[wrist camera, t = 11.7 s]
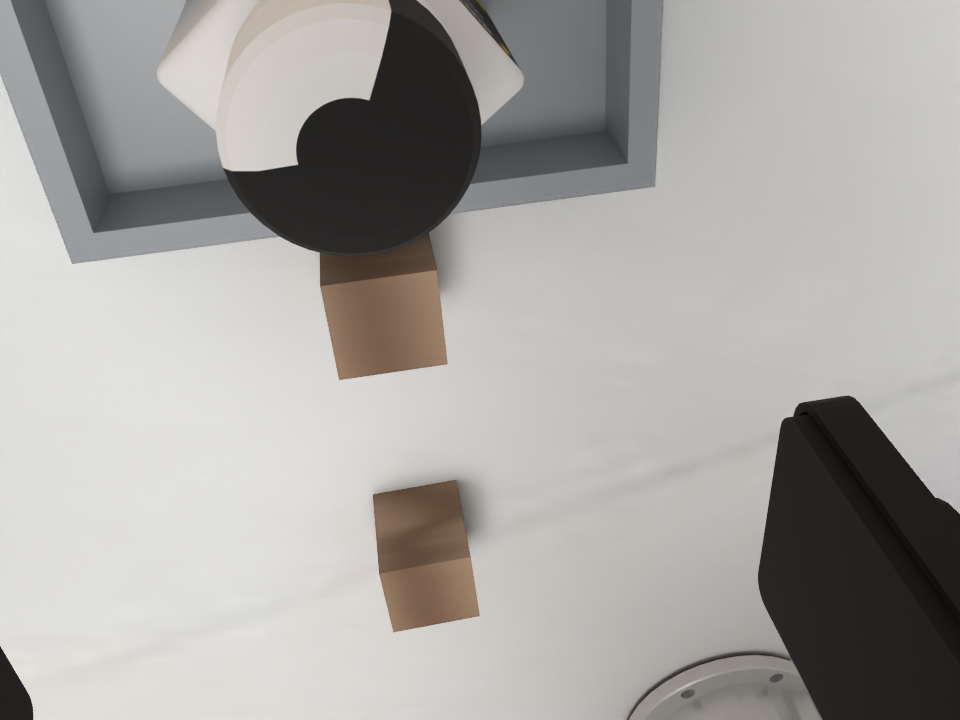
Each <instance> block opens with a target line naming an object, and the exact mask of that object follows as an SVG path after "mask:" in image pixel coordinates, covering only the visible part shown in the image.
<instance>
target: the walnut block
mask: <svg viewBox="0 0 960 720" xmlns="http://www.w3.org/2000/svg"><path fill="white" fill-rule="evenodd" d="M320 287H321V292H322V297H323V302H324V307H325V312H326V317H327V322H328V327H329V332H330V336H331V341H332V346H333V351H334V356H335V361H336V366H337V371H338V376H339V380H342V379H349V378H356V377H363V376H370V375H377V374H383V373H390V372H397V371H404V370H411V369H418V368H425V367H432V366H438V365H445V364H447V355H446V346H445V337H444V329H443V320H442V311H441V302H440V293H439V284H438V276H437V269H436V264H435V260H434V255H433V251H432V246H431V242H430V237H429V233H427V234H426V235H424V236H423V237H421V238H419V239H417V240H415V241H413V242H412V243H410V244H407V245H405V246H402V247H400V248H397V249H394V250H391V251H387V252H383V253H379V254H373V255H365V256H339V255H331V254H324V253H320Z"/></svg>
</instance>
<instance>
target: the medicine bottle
mask: <svg viewBox="0 0 960 720" xmlns="http://www.w3.org/2000/svg"><path fill="white" fill-rule="evenodd" d="M156 72H157V79H158V80H159V82H160V83H161V85H162V86H163V87H164V88H166V89H167V90H168V91H169V92H170V93H171V94H173V95H174V96H175V97H176V98H177V99H178V100H180V101H181V102H182V103H183V104H184V105H185V106H187V107H188V108H189V109H190V110H191V111H192V112H194V113H195V114H196V115H197V116H198V117H200V118H201V119H202V120H203V121H204V122H205V123H207V124H208V125H209V126H210V127H211V128H212V129H214V130H215V131H216V138H217V146H218V152H219V156H220V159H221V163H222V167H223V169H224V172H225V174H226V176H227V178H228V181H229V183H230V185H231V187H232V188H233V190H234V191H235V193H236V195H237V196H238V198H239V200H240V201H241V202H242V203H243V204H244V206H245V207H246V208H247V209H248V210H249V212H250V213H251V214H252V215H253V216H254V217H255V218H257V219H258V220H259V221H260V222H261V223H262V224H263V225H264V226H266V227H267V228H268V229H270V230H271V231H273V232H274V233H275V234H277V235H278V236H280V237H282V238H284V239H286V240H288V241H289V242H291V243H293V244H296V245H298V246H301V247H304V248H306V249H309V250H312V251H316V252H320V253H324V254H331V255H339V256H365V255H373V254H379V253H383V252H387V251H391V250H394V249H397V248H400V247H402V246H405V245H407V244H410V243H412V242H413V241H415V240H417V239H419V238H421V237H423V236H424V235H426V234H427V233H428V232H430V231H431V230H433V229H434V228H435V227H437V226H438V225H439V224H440V223H441V222H442V221H443V220H444V219H445V218H446V217H447V216H448V215H450V213H451V212H452V211H453V210H454V208H455V207H456V206H457V205H458V203H459V202H460V201H461V199H462V197H463V196H464V194H465V192H466V191H467V189H468V187H469V185H470V183H471V180H472V178H473V176H474V173H475V171H476V167H477V163H478V160H479V156H480V148H481V140H482V132H481V125H482V124H483V123H484V122H486V121H487V120H488V119H489V118H490V117H491V116H492V115H493V114H494V113H495V112H497V111H498V110H499V109H500V108H501V107H502V106H503V105H504V104H505V103H506V102H507V101H509V100H510V99H511V98H512V97H513V96H514V95H515V94H516V93H517V92H518V91H520V89H521V88H522V86H523V83H524V76H523V73H522V71H521V69H520V68H519V66H518V64H517V63H516V61H515V59H514V57H513V56H512V54H511V52H510V51H509V49H508V47H507V46H506V44H505V42H504V40H503V39H502V37H501V35H500V34H499V32H498V30H497V28H496V27H495V25H494V23H493V22H492V20H491V18H490V16H489V15H488V13H487V11H486V10H485V9H484V7H483V6H482V5H481V4H480V3H479V2H478V0H188V1H187V2H186V4H185V6H184V9H183V11H182V13H181V15H180V18H179V20H178V22H177V25H176V27H175V29H174V32H173V34H172V36H171V38H170V41H169V43H168V45H167V48H166V50H165V52H164V55H163V57H162V59H161V62H160V64H159V66H158V68H157V71H156Z"/></svg>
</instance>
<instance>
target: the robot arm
mask: <svg viewBox="0 0 960 720" xmlns="http://www.w3.org/2000/svg"><path fill="white" fill-rule="evenodd" d="M758 583H759V589H760V594H761V597H762V600H763V603H764V605H765V607H766V609H767V611H768V613H769V615H770V617H771V619H772V621H773V623H774V625H775V627H776V629H777V631H778V633H779V635H780V637H781V639H782V641H783V643H784V645H785V647H786V649H787V651H788V653H789V655H790V657H791V659H792V661H793V662H791V661H789V660H785V659H781V658H777V657H773V656H762V655H746V656H734V657H729V658H723V659H718V660H715V661H711V662H708V663H704V664H701V665H698V666H696V667H693V668H691V669H689V670H686V671H684V672H682V673H680V674H678V675H676V676H674V677H673V678H671V679H669V680H667V681H666V682H664V683H663V684H661V685H660V686H659V687H657V688H656V689H655V690H653V691H652V692H651V693H650V694H649V695H648V696H647V697H646V698H645V699H644V700H643V701H642V702H641V703H640V704H639V705H638V706H637V708H636V709H635V711H634V712H633V713H632V715H631V716H630V719H629V720H960V514H959V513H958V512H957V511H956V510H955V509H954V508H953V507H952V506H951V505H950V504H949V503H947V502H945V501H943V500H941V499H939V498H935V497H934V496H933V495H932V493H931V492H930V491H929V490H928V488H927V487H926V486H925V485H924V483H923V482H922V481H921V480H920V478H919V477H918V476H917V474H916V473H915V472H914V471H913V469H912V468H911V467H910V466H909V464H908V463H907V462H906V461H905V459H904V458H903V457H902V456H901V454H900V453H899V452H898V451H897V449H896V448H895V447H894V446H893V444H892V443H891V442H890V441H889V439H888V438H887V437H886V436H885V434H884V433H883V432H882V431H881V429H880V428H879V427H878V426H877V424H876V423H875V422H874V421H873V419H872V418H871V417H870V415H869V414H868V413H867V412H866V410H865V409H864V408H863V407H862V405H861V404H860V403H859V402H858V401H857V400H856V399H855V398H853V397H851V396H842V397H835V398H829V399H822V400H816V401H809V402H803V403H800V404H799V405H798V406H797V407H796V409H795V413H794V416H793V417H788V418H785V419H784V420H783V421H782V424H781V428H780V434H779V441H778V447H777V454H776V461H775V467H774V474H773V480H772V487H771V493H770V500H769V506H768V513H767V519H766V526H765V533H764V539H763V546H762V552H761V559H760V565H759V572H758ZM0 720H33V707H32V702H31V699H30V696H29V694H28V693H27V691H26V689H25V687H24V686H23V684H22V682H21V681H20V679H19V677H18V676H17V674H16V672H15V671H14V669H13V667H12V665H11V664H10V662H9V660H8V659H7V657H6V655H5V654H4V652H3V650H2V649H1V647H0Z"/></svg>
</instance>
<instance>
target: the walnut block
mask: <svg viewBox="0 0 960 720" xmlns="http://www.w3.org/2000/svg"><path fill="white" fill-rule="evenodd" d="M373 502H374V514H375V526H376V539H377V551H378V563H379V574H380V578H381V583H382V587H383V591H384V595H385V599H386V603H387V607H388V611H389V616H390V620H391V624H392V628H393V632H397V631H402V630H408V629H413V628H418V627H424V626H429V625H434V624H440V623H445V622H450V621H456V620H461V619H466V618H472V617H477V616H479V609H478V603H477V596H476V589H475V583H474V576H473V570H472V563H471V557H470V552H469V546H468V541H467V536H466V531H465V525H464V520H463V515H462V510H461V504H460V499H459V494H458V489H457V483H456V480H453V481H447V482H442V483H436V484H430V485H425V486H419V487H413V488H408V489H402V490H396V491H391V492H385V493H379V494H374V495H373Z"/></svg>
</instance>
